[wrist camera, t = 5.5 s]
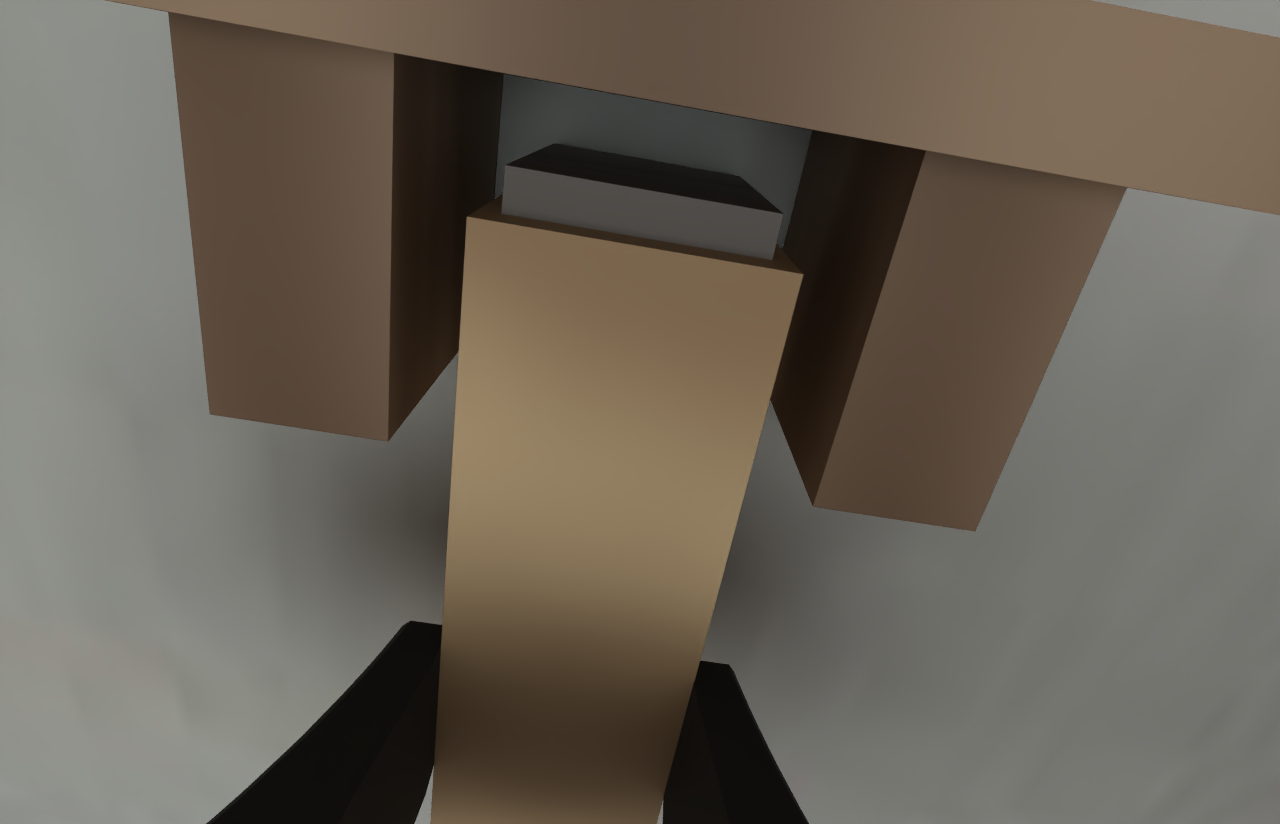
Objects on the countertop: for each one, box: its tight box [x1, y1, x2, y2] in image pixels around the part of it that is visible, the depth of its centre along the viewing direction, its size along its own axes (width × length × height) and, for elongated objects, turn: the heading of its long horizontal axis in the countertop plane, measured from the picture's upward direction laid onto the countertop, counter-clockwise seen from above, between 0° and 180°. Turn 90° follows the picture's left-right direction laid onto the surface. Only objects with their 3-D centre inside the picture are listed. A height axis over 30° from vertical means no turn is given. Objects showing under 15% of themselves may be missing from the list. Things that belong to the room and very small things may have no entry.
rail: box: [431, 144, 803, 824], centre depth 12 cm, size 14×4×5 cm, turn 171°
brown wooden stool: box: [107, 0, 1280, 531], centre depth 9 cm, size 11×5×6 cm, turn 81°
